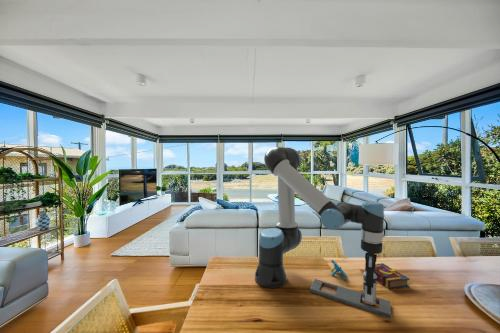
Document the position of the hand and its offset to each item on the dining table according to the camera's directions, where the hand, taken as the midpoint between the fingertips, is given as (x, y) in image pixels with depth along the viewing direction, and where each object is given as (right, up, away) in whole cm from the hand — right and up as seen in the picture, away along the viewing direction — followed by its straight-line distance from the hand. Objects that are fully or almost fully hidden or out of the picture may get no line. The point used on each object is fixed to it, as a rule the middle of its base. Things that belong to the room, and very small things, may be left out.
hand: (369, 297), depth 86 cm
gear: (-3, -3, +22) cm, 22 cm away
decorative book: (+18, -3, +19) cm, 27 cm away
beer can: (0, -2, 0) cm, 2 cm away
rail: (-7, -3, +4) cm, 8 cm away
